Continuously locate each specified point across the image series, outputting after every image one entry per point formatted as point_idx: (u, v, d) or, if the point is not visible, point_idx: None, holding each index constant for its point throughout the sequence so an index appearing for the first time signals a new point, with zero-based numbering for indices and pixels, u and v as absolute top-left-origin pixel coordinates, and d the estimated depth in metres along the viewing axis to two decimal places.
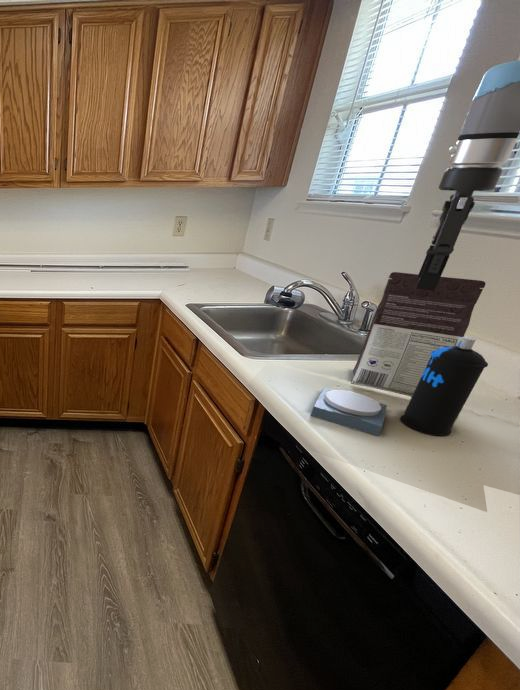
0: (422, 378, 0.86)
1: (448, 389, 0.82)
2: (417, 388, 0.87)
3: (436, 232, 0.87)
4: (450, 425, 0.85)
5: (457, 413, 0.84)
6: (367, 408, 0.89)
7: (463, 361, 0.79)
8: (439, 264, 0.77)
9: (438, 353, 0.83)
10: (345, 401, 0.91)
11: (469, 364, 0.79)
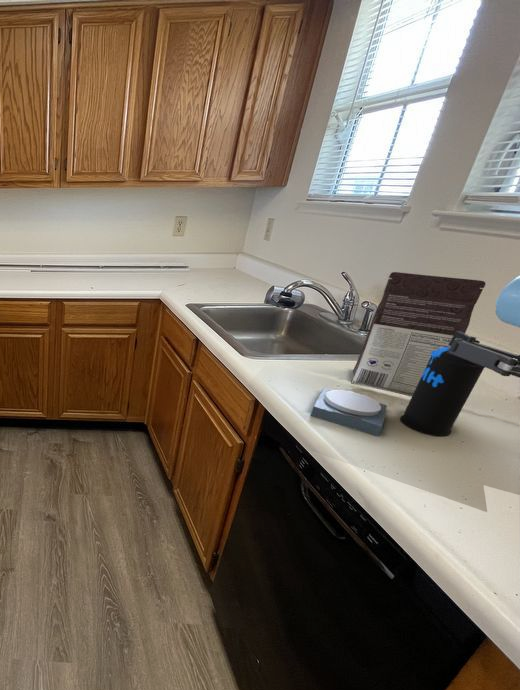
0: (422, 378, 0.86)
1: (448, 389, 0.82)
2: (417, 388, 0.87)
3: None
4: (450, 425, 0.85)
5: (457, 413, 0.84)
6: (367, 408, 0.89)
7: (463, 361, 0.79)
8: None
9: (438, 353, 0.83)
10: (345, 401, 0.91)
11: (469, 364, 0.79)
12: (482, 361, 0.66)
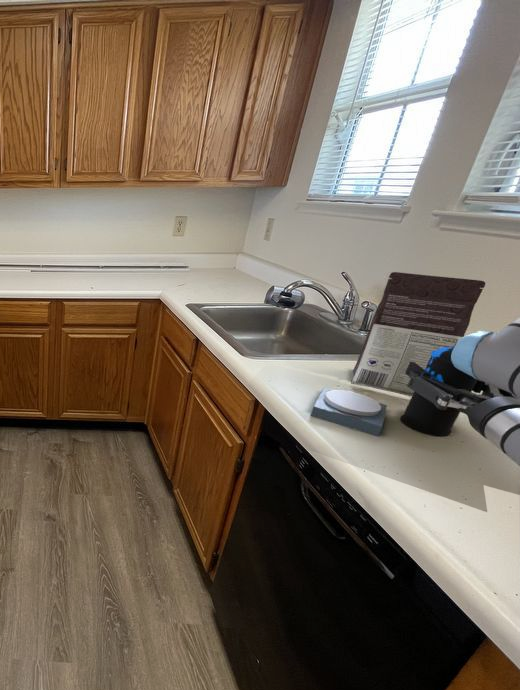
0: None
1: None
2: None
3: None
4: (450, 425, 0.85)
5: (457, 413, 0.84)
6: (367, 408, 0.89)
7: None
8: None
9: (438, 353, 0.83)
10: (345, 401, 0.91)
11: None
12: (428, 396, 0.79)
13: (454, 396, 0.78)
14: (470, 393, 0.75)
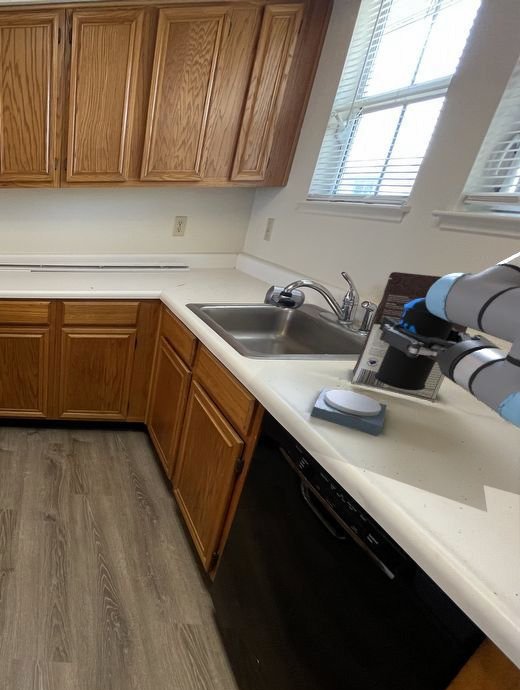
0: None
1: None
2: None
3: None
4: (424, 379, 0.83)
5: (430, 366, 0.82)
6: (367, 408, 0.89)
7: None
8: None
9: (411, 304, 0.81)
10: (345, 401, 0.91)
11: None
12: (399, 345, 0.77)
13: (425, 345, 0.76)
14: (441, 340, 0.74)
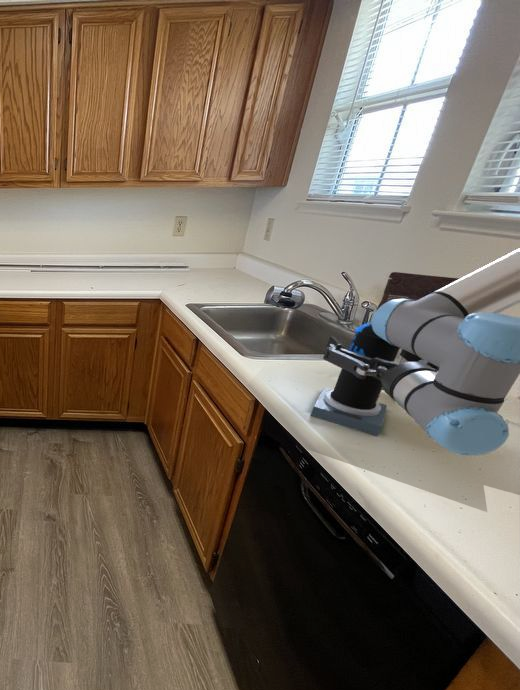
0: None
1: None
2: None
3: None
4: (374, 398, 0.88)
5: (379, 386, 0.86)
6: None
7: None
8: None
9: (361, 328, 0.86)
10: None
11: None
12: (346, 366, 0.81)
13: (370, 365, 0.80)
14: (384, 361, 0.78)
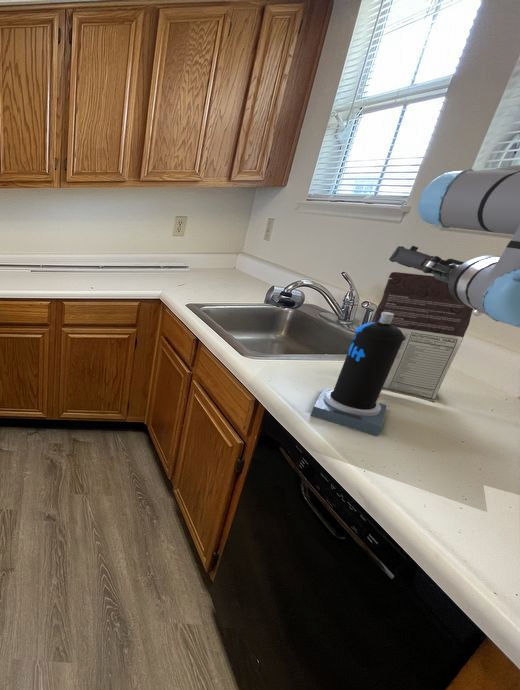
0: (348, 353, 0.89)
1: (369, 363, 0.85)
2: (344, 363, 0.90)
3: None
4: (374, 398, 0.88)
5: (379, 386, 0.86)
6: None
7: (381, 335, 0.82)
8: None
9: (361, 328, 0.86)
10: None
11: (387, 338, 0.82)
12: (412, 262, 0.69)
13: None
14: (463, 262, 0.65)
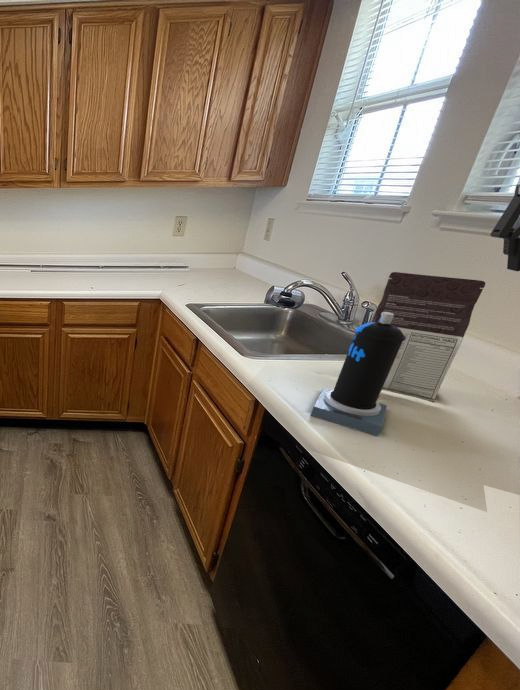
0: (348, 353, 0.89)
1: (369, 363, 0.85)
2: (344, 363, 0.90)
3: None
4: (374, 398, 0.88)
5: (379, 386, 0.86)
6: None
7: (381, 335, 0.82)
8: (507, 247, 0.81)
9: (361, 328, 0.86)
10: None
11: (387, 338, 0.82)
12: None
13: None
14: None
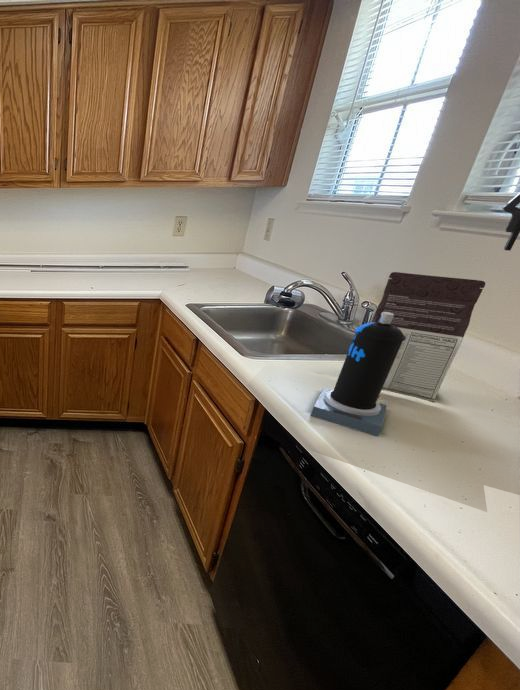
0: (348, 353, 0.89)
1: (369, 363, 0.85)
2: (344, 363, 0.90)
3: None
4: (374, 398, 0.88)
5: (379, 386, 0.86)
6: None
7: (381, 335, 0.82)
8: (509, 223, 0.84)
9: (361, 328, 0.86)
10: None
11: (387, 338, 0.82)
12: None
13: None
14: None
